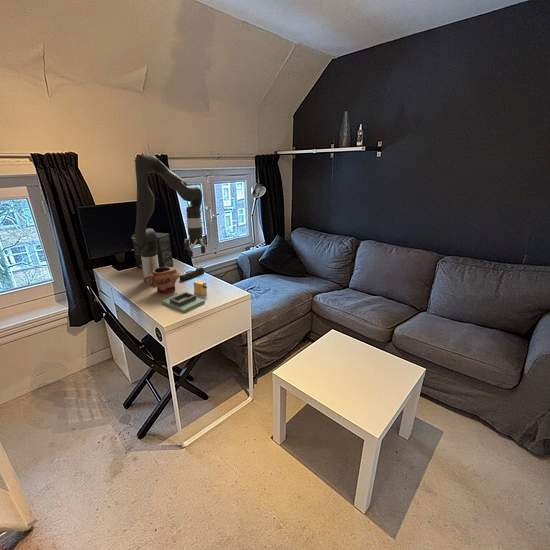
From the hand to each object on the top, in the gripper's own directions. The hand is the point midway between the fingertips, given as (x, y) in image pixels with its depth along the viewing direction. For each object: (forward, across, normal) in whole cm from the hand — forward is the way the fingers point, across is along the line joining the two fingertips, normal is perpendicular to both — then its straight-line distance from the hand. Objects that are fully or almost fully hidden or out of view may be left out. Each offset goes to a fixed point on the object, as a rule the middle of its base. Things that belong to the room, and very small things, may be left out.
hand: (197, 255), depth 163 cm
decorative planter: (+23, +11, -19) cm, 32 cm away
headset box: (+23, -12, -60) cm, 66 cm away
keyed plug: (+23, 0, 0) cm, 23 cm away
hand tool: (+24, -15, -24) cm, 37 cm away
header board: (+23, +14, +2) cm, 27 cm away
